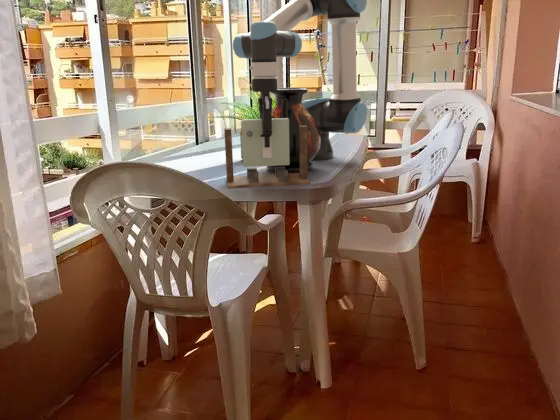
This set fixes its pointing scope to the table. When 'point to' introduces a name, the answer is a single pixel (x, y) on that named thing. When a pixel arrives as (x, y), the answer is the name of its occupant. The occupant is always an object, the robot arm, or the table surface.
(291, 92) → the amphora vase
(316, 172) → the table surface
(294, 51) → the robot arm
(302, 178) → the cabinet frame
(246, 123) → the beige flat panel
